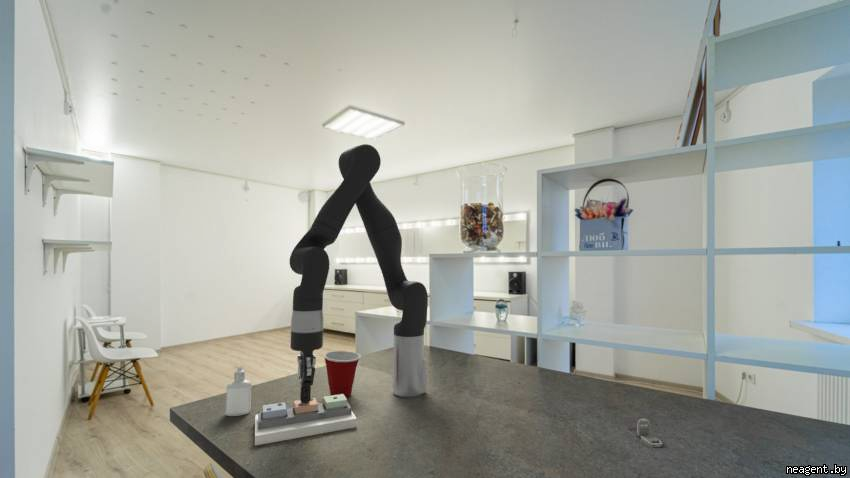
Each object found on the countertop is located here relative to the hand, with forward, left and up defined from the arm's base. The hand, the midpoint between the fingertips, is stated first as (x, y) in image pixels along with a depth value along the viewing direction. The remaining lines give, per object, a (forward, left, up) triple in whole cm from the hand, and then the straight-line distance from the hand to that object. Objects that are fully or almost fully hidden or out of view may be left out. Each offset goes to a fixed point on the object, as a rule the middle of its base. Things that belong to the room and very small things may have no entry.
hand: (305, 401), depth 89 cm
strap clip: (-69, +37, -6) cm, 79 cm away
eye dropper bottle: (+15, -14, -6) cm, 21 cm away
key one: (-7, 0, -2) cm, 7 cm away
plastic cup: (-12, -16, -6) cm, 21 cm away
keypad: (0, 0, -6) cm, 6 cm away
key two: (+7, 0, -2) cm, 7 cm away
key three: (0, 0, -2) cm, 2 cm away
